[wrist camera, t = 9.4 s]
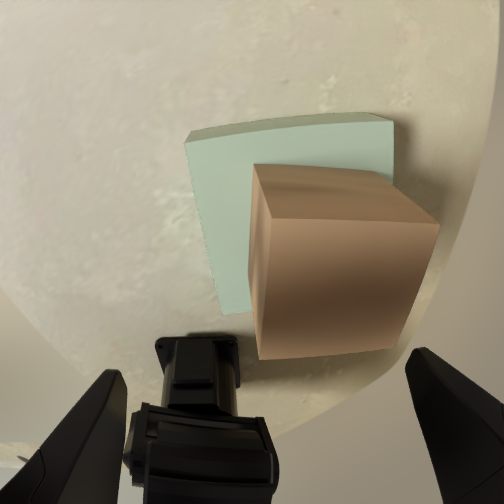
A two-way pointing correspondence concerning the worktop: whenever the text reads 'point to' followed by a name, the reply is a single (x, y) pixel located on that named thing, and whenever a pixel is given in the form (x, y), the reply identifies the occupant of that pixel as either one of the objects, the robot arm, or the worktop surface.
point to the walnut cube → (332, 260)
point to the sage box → (270, 152)
